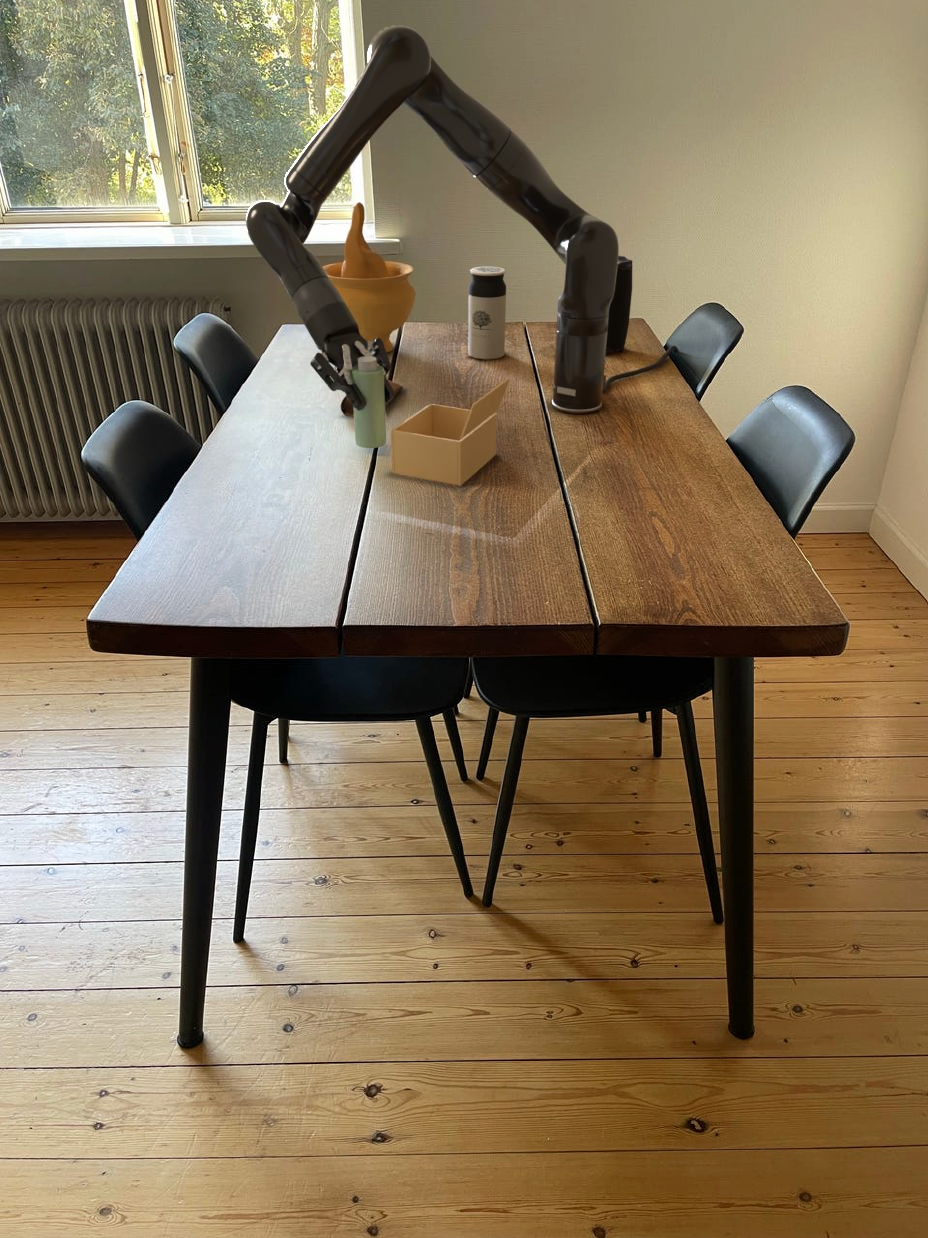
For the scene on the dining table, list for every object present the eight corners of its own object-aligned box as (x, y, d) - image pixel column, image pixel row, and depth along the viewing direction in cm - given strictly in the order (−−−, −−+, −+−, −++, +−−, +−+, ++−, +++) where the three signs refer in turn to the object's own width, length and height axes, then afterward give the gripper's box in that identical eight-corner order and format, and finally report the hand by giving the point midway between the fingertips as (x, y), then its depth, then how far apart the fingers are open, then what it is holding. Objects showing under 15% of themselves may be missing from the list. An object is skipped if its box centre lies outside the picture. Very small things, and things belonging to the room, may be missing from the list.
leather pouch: (386, 415, 168) (366, 384, 166) (354, 433, 171) (334, 402, 168) (405, 385, 184) (387, 356, 181) (376, 401, 186) (358, 373, 184)
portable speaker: (583, 354, 205) (589, 261, 194) (592, 343, 212) (598, 253, 202) (622, 357, 202) (630, 263, 192) (629, 346, 210) (638, 255, 200)
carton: (431, 445, 157) (430, 403, 153) (495, 457, 153) (496, 413, 149) (392, 475, 147) (390, 430, 143) (460, 488, 142) (460, 442, 138)
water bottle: (365, 434, 157) (361, 352, 149) (392, 439, 155) (389, 356, 147) (349, 445, 153) (344, 360, 145) (377, 450, 151) (373, 365, 143)
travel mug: (481, 348, 208) (483, 264, 199) (511, 354, 204) (513, 268, 195) (461, 356, 203) (461, 270, 193) (491, 362, 199) (492, 275, 189)
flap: (508, 377, 145) (510, 378, 145) (496, 409, 149) (497, 410, 149) (472, 403, 134) (474, 404, 134) (460, 437, 138) (461, 438, 138)
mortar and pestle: (414, 362, 199) (410, 211, 183) (316, 361, 199) (304, 211, 184) (419, 336, 217) (416, 197, 201) (330, 335, 217) (319, 196, 201)
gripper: (297, 307, 142) (352, 401, 142) (368, 293, 151) (420, 381, 150) (280, 335, 148) (332, 426, 147) (349, 320, 157) (399, 405, 156)
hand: (376, 403), depth 149 cm, fingers closed on water bottle, 5 cm apart
